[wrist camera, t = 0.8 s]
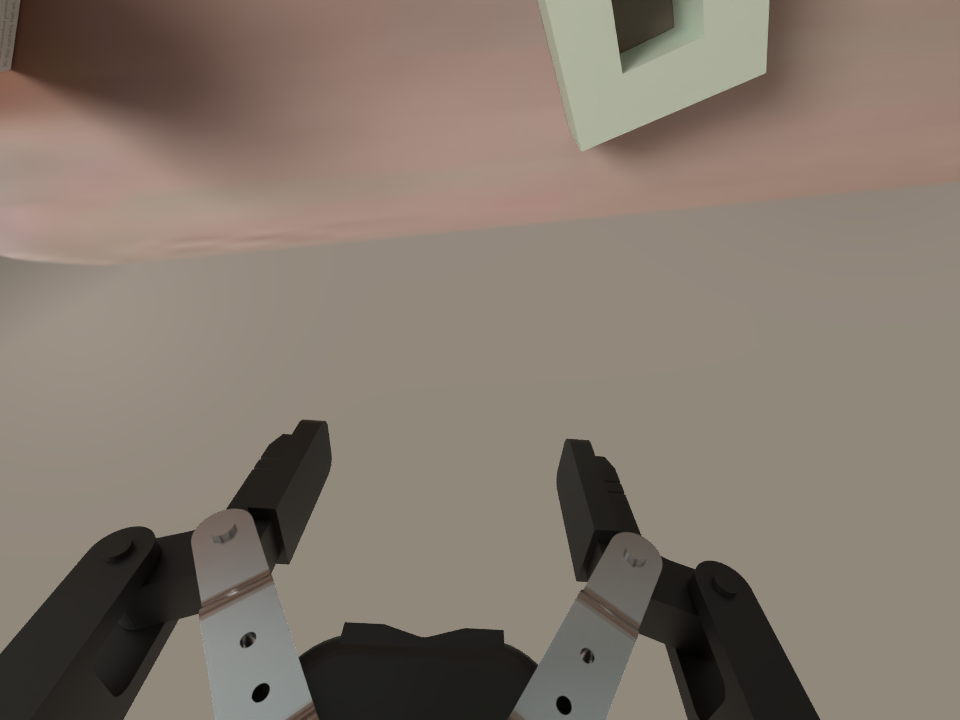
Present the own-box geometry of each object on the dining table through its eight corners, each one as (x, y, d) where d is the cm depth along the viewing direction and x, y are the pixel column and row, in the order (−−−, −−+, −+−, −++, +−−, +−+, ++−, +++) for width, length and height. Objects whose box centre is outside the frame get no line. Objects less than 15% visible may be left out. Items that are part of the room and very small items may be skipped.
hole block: (521, -63, 24) (528, -70, 20) (727, -188, 20) (779, -222, 17) (569, 131, 30) (581, 151, 27) (728, 60, 27) (765, 73, 24)
